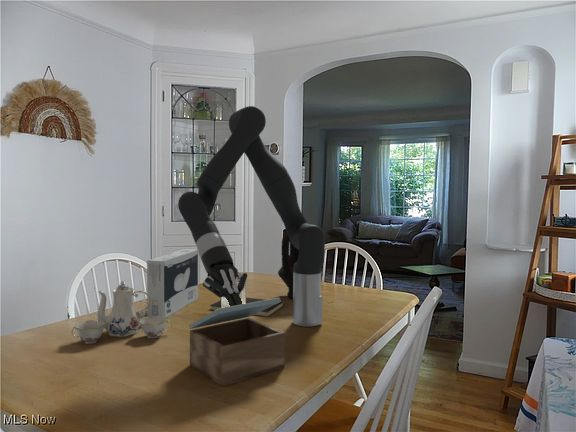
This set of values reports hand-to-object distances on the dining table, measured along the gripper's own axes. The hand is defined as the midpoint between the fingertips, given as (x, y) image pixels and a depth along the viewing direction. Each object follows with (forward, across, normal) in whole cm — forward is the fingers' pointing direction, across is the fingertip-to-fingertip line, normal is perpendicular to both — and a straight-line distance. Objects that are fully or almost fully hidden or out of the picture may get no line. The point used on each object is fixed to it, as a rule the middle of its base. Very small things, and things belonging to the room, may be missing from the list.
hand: (238, 308), depth 113 cm
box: (+10, 0, +11) cm, 15 cm away
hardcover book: (-21, +34, +44) cm, 59 cm away
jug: (-23, +60, +44) cm, 78 cm away
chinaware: (-18, -14, +41) cm, 47 cm away
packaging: (-33, +12, +55) cm, 65 cm away
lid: (0, 0, +3) cm, 3 cm away
